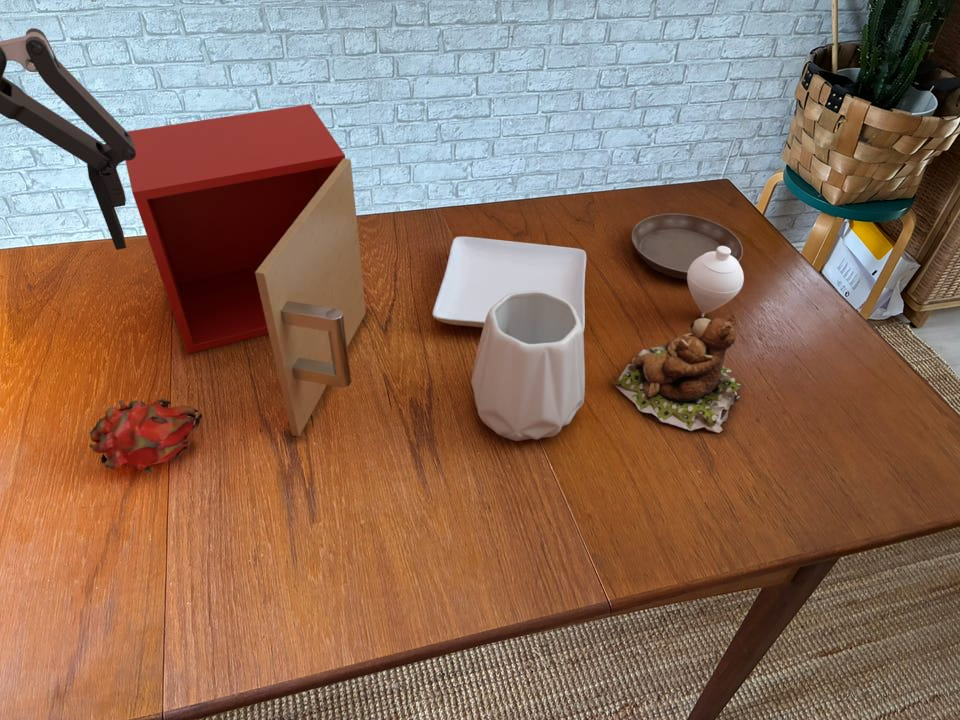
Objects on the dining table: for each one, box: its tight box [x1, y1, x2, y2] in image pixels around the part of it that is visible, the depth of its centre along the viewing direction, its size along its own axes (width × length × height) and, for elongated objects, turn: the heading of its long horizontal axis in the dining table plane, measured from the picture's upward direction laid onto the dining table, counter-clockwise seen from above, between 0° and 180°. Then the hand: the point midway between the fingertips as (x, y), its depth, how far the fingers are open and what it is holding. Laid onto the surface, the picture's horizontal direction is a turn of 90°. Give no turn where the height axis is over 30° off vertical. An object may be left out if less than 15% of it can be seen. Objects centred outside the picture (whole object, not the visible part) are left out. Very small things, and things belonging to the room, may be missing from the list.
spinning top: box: [686, 246, 745, 318], centre depth 100 cm, size 8×8×12 cm
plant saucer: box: [631, 213, 744, 281], centre depth 115 cm, size 18×18×3 cm
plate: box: [431, 236, 587, 333], centre depth 105 cm, size 21×21×3 cm
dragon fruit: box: [88, 398, 203, 475], centre depth 80 cm, size 8×8×12 cm
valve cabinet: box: [124, 103, 346, 355], centre depth 96 cm, size 16×24×24 cm, turn 115°
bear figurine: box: [613, 314, 742, 434], centre depth 89 cm, size 14×15×12 cm
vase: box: [470, 291, 586, 442], centre depth 84 cm, size 14×14×15 cm
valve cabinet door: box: [255, 158, 367, 438], centre depth 85 cm, size 7×24×24 cm, turn 168°
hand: (28, 259), depth 56 cm, fingers open, 13 cm apart
